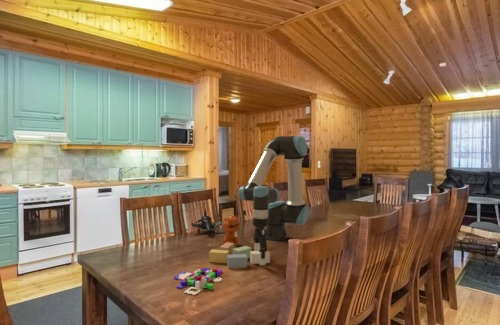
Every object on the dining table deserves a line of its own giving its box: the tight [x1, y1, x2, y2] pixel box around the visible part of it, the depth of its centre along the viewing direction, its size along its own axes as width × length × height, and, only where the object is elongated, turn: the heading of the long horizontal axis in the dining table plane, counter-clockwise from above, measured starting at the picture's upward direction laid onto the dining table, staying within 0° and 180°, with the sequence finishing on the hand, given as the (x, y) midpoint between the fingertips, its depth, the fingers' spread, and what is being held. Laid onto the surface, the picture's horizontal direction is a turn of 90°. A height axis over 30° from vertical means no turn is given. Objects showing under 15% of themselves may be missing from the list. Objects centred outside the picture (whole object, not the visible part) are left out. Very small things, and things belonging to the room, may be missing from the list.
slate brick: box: [226, 254, 248, 269], centre depth 149 cm, size 9×4×5 cm, turn 100°
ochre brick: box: [208, 249, 229, 264], centre depth 156 cm, size 9×4×5 cm, turn 80°
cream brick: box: [249, 249, 271, 265], centre depth 155 cm, size 9×4×5 cm, turn 102°
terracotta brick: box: [219, 242, 235, 255], centre depth 167 cm, size 9×4×5 cm, turn 160°
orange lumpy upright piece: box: [221, 214, 241, 247], centre depth 182 cm, size 11×11×18 cm
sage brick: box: [231, 245, 252, 259], centre depth 161 cm, size 9×4×5 cm, turn 130°
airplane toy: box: [191, 208, 223, 236], centre depth 208 cm, size 20×19×15 cm
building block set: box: [173, 267, 223, 296], centre depth 132 cm, size 25×20×4 cm
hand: (259, 260), depth 155 cm, fingers open, 13 cm apart
